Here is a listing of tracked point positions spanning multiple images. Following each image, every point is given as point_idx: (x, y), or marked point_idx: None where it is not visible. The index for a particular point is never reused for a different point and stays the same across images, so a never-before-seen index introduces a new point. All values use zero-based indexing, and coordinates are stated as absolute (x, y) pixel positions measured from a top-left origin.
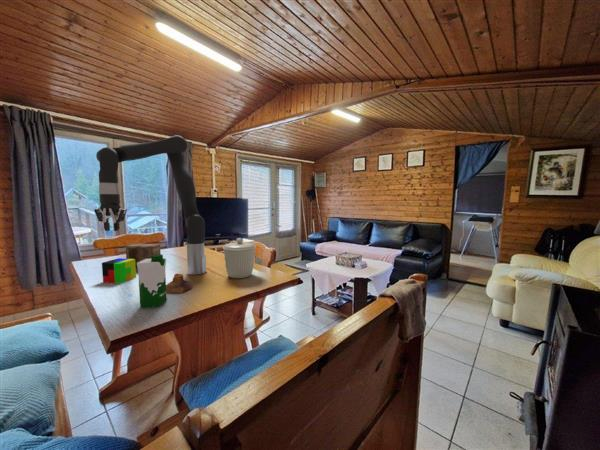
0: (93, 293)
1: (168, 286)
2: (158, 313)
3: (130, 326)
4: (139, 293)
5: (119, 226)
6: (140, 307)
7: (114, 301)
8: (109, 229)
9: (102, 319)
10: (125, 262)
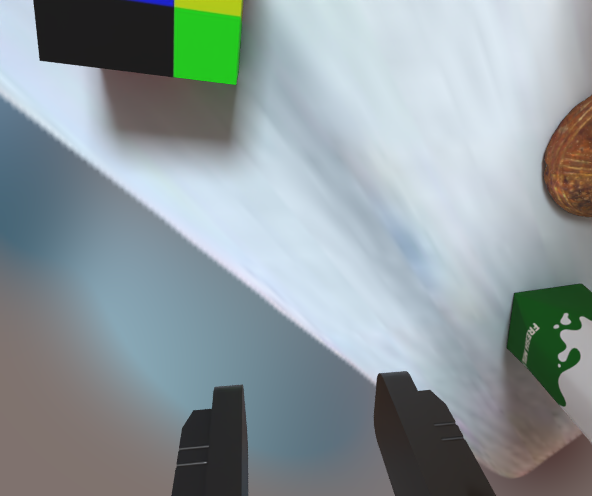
0: (217, 241)
1: (589, 206)
2: None
3: (526, 439)
4: (529, 370)
5: (462, 435)
6: (507, 347)
7: (381, 310)
8: (243, 399)
9: None
10: (240, 11)
